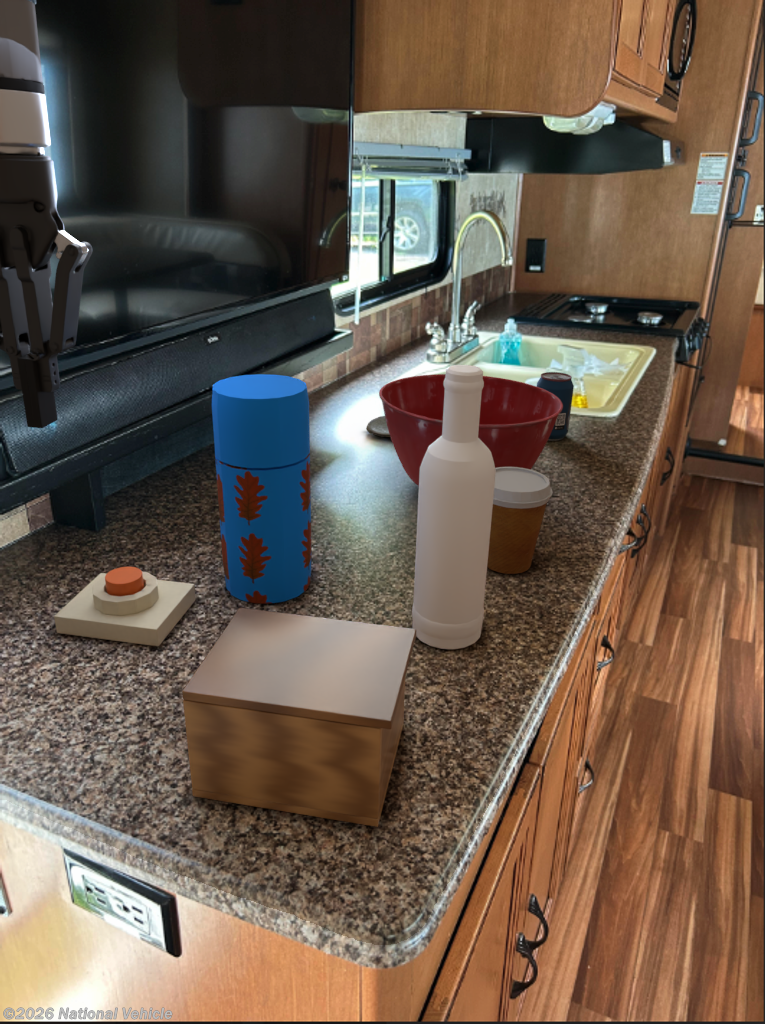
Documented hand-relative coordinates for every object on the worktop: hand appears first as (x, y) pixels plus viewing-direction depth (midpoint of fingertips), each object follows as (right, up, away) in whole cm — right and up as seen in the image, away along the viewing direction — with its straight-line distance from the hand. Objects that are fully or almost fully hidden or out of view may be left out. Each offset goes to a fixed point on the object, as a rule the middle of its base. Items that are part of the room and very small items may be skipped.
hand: (42, 423), depth 73 cm
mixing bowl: (+46, -5, +52) cm, 70 cm away
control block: (+3, -20, +15) cm, 25 cm away
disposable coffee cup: (+49, -15, +29) cm, 59 cm away
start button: (+3, -17, +13) cm, 22 cm away
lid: (+34, +7, +76) cm, 84 cm away
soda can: (+65, +6, +77) cm, 101 cm away
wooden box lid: (+26, -21, -10) cm, 35 cm away
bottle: (+40, -22, +14) cm, 47 cm away
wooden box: (+26, -30, -6) cm, 40 cm away
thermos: (+18, -17, +23) cm, 34 cm away
